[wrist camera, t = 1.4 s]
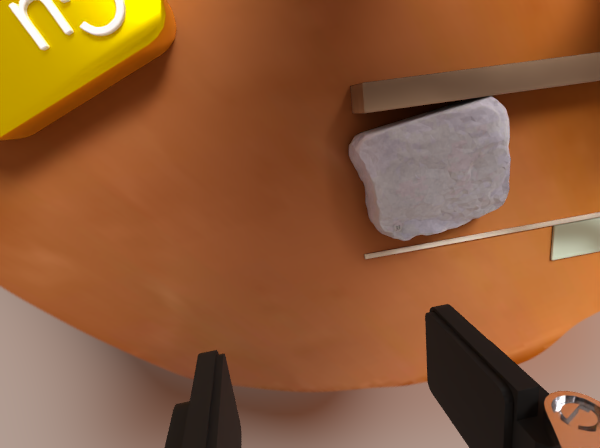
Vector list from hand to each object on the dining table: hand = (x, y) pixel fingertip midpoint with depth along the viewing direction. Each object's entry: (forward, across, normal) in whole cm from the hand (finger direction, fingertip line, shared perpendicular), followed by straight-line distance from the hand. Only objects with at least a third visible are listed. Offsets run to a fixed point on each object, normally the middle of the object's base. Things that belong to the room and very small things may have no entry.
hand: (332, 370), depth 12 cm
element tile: (+20, +14, -18) cm, 30 cm away
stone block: (+20, -13, -2) cm, 24 cm away
